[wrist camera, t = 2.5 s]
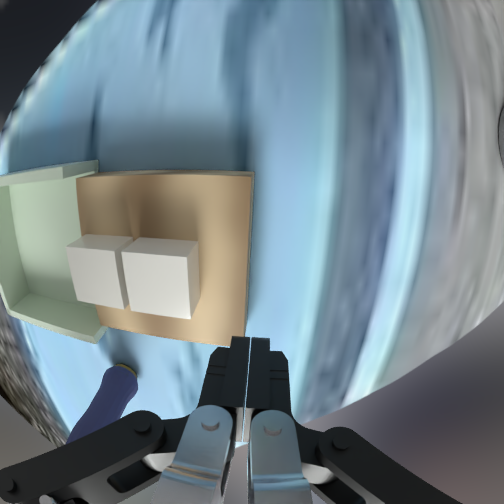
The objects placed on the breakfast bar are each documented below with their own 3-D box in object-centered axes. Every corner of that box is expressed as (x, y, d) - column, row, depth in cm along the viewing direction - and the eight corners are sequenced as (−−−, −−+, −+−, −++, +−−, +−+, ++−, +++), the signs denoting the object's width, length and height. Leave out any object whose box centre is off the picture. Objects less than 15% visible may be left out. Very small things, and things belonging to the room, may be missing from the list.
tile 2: (132, 236, 17) (114, 250, 15) (139, 290, 18) (124, 309, 16) (86, 233, 17) (65, 246, 15) (94, 284, 18) (77, 300, 16)
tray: (98, 159, 18) (62, 166, 14) (118, 315, 23) (96, 344, 19) (8, 173, 18) (-23, 182, 14) (31, 295, 24) (8, 314, 20)
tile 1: (198, 241, 17) (186, 257, 14) (200, 297, 18) (190, 319, 16) (139, 237, 17) (121, 251, 14) (145, 291, 18) (131, 310, 16)
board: (254, 171, 18) (251, 176, 15) (246, 323, 22) (243, 347, 19) (98, 172, 18) (75, 178, 16) (116, 306, 23) (100, 325, 20)
